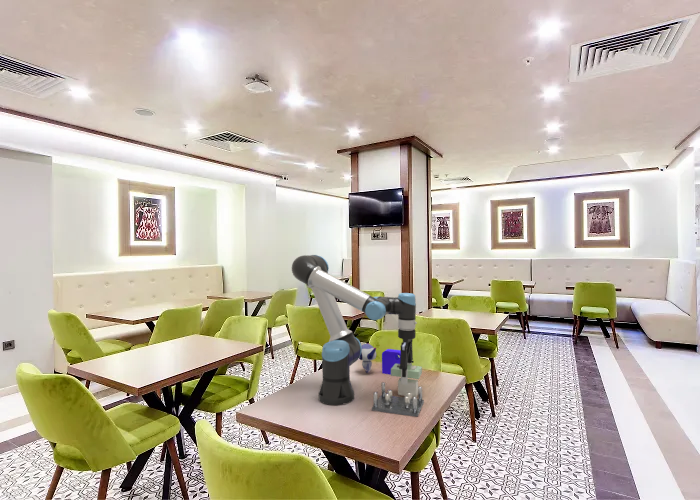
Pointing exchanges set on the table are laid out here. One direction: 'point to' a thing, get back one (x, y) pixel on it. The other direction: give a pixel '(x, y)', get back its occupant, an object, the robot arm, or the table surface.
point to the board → (412, 371)
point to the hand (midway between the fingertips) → (406, 380)
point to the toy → (367, 356)
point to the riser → (408, 387)
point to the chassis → (398, 403)
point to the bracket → (390, 360)
